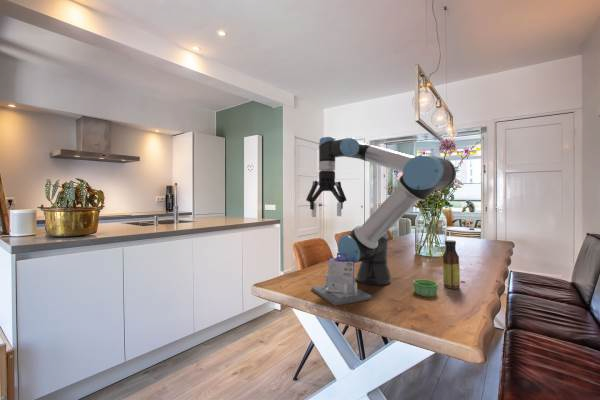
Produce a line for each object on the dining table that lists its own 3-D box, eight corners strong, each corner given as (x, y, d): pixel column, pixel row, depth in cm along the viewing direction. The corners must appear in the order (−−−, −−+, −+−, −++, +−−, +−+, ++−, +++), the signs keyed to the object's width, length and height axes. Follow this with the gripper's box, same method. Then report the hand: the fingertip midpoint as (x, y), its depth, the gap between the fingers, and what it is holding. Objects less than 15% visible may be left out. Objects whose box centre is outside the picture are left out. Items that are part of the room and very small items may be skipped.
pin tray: (345, 285, 123) (345, 270, 123) (371, 299, 106) (371, 282, 106) (311, 289, 116) (311, 274, 116) (334, 305, 100) (334, 287, 100)
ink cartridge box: (354, 289, 113) (354, 253, 113) (353, 294, 108) (354, 255, 107) (329, 287, 115) (329, 251, 115) (327, 292, 110) (328, 254, 109)
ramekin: (425, 288, 119) (425, 278, 119) (443, 295, 111) (443, 284, 111) (408, 291, 116) (408, 280, 116) (425, 298, 107) (425, 287, 107)
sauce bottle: (459, 286, 122) (459, 240, 122) (460, 290, 117) (461, 242, 116) (442, 284, 125) (442, 239, 125) (442, 288, 119) (443, 241, 119)
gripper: (306, 169, 124) (306, 217, 125) (354, 171, 135) (353, 216, 135) (299, 170, 131) (299, 216, 132) (345, 172, 141) (344, 215, 142)
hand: (326, 216), depth 133 cm, fingers open, 13 cm apart
